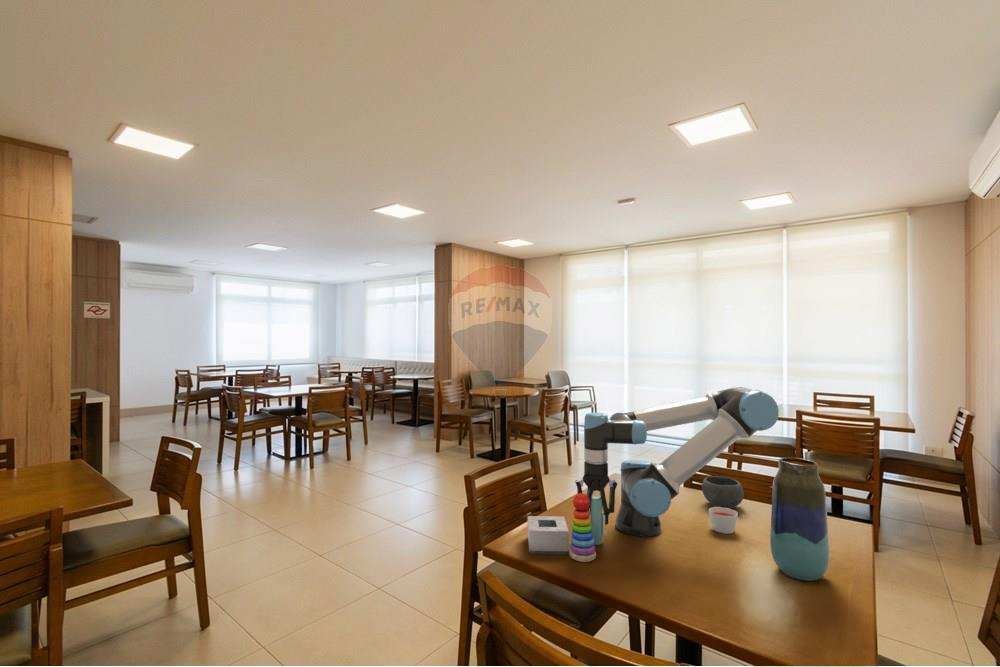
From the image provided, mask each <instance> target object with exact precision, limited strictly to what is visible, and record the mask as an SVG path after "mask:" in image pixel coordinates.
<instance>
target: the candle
mask: <svg viewBox="0 0 1000 667" xmlns="http://www.w3.org/2000/svg"><path fill="white" fill-rule="evenodd" d="M708 512H709V518H710V522H711V528H712V530H714V531H715V532H718V533H721V534H727V535H730V534H731V535H732V534H733V533H735V531H736V526H737V522H738V515H739V512H738V511H736V510H734V509H731V508H723V507H718V506H713V507H710V508H708Z"/></svg>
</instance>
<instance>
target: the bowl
mask: <svg viewBox="0 0 1000 667" xmlns="http://www.w3.org/2000/svg"><path fill="white" fill-rule="evenodd" d="M701 490H702V494H703V496H704V499H706V501H708V502H709V503H710V504H712V505H714V506H715V507H723V508H728V509H731V508H735V507H737V506H739V505H740V504H741V503H742V502H743V499H744V497H745V496H744V489H743V485H742V484H741V483H740V481H738V480H737V479H735V478H732V477H728V476H718V475H716V476H715V475H714V476H707V477H705V478H704V479H703V481H702V484H701Z"/></svg>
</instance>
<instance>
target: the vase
mask: <svg viewBox="0 0 1000 667" xmlns="http://www.w3.org/2000/svg"><path fill="white" fill-rule="evenodd" d="M771 494H772V495H771V496H772V497H771V515H770V516H771V518H770V553H771V556H772V559H773V561H774V563H775V565H776V566H777V568H778V569H779V570H780V571H781V572H782V573H783V574H785V575H786V576H788V577H790V578H793V579H796V580H799V581H806V582H813V581H815V582H816V581H818V580H820V579H822V577H823V576H824V575H825V574H826V573H827V572H828V570H829V566H830V553H831V551H830V537H829V526H828V525H829V524H828V522H829V520H828V512H827V509H828V508H827V496H826V488H825V485H824V483H823V481H822V480H821V477H820V474H819V464H818V463H817V462H816V461H814V460H810V459H804V458H799V457H781V458H779V459H778V471H777V472H776V474H775V476H774V478H773V481H772V493H771Z"/></svg>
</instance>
